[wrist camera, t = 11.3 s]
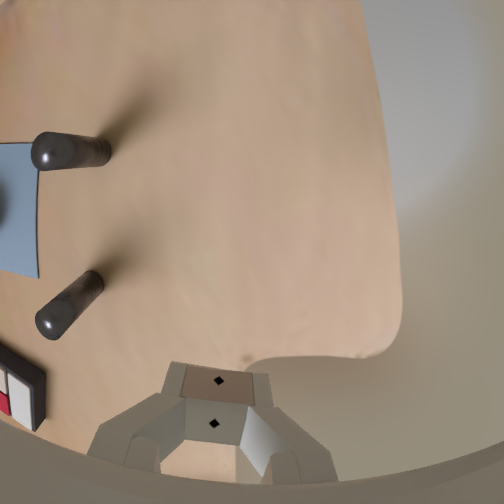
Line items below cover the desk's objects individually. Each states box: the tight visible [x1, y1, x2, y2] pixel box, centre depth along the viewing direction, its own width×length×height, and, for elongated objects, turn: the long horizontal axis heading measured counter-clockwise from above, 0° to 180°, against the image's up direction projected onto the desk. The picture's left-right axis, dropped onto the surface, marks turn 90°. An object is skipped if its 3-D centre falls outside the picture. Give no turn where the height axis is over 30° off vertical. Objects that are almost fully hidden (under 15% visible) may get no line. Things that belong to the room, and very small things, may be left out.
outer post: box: [35, 271, 104, 340], centre depth 24 cm, size 3×3×9 cm
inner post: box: [31, 132, 112, 171], centre depth 21 cm, size 3×3×9 cm
